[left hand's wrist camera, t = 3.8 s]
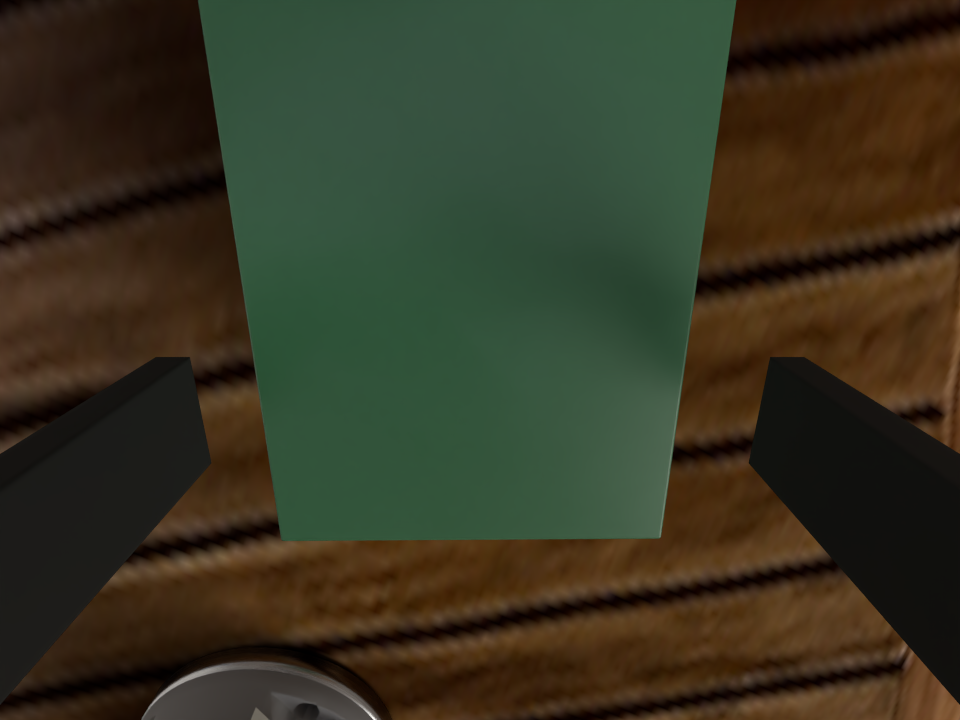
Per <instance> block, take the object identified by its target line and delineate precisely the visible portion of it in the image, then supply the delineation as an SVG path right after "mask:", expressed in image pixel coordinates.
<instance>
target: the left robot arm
mask: <svg viewBox="0 0 960 720" xmlns="http://www.w3.org/2000/svg"><path fill="white" fill-rule="evenodd" d="M210 464H211V459H210V454H209V449H208V444H207V440H206V435H205V430H204V425H203V420H202V415H201V410H200V405H199V400H198V395H197V390H196V386H195V381H194V376H193V371H192V366H191V361H190V357H155V358H154V359H152V360H151V361H149V362H147V363H146V364H144V365H143V366H141V367H139V368H138V369H136V370H134V371H133V372H131V373H130V374H128V375H126V376H125V377H123V378H122V379H120V380H118V381H117V382H115V383H114V384H112V385H110V386H109V387H107V388H106V389H104V390H102V391H101V392H99V393H98V394H96V395H94V396H93V397H91V398H90V399H88V400H86V401H85V402H83V403H82V404H80V405H78V406H77V407H75V408H73V409H72V410H70V411H69V412H67V413H65V414H64V415H62V416H61V417H59V418H57V419H56V420H54V421H53V422H51V423H49V424H48V425H46V426H45V427H43V428H41V429H40V430H38V431H37V432H35V433H33V434H32V435H30V436H29V437H27V438H25V439H24V440H22V441H21V442H19V443H17V444H16V445H14V446H12V447H11V448H9V449H8V450H6V451H4V452H3V453H1V454H0V704H1V703H2V702H3V701H4V700H5V699H6V697H7V696H8V695H9V694H10V693H11V692H12V691H13V689H14V688H15V687H16V686H17V685H18V684H19V683H20V681H21V680H22V679H23V678H24V677H25V676H26V675H27V673H28V672H29V671H30V670H31V669H32V668H33V666H34V665H35V664H36V663H37V662H38V661H39V660H40V658H41V657H42V656H43V655H44V654H45V653H46V652H47V650H48V649H49V648H50V647H51V646H52V645H53V644H54V642H55V641H56V640H57V639H58V638H59V637H60V636H61V634H62V633H63V632H64V631H65V630H66V629H67V628H68V626H69V625H70V624H71V623H72V622H73V621H74V620H75V618H76V617H77V616H78V615H79V614H80V613H81V612H82V610H83V609H84V608H85V607H86V606H87V605H88V604H89V602H90V601H91V600H92V599H93V598H94V597H95V595H96V594H97V593H98V592H99V591H100V590H101V589H102V587H103V586H104V585H105V584H106V583H107V582H108V581H109V579H110V578H111V577H112V576H113V575H114V574H115V573H116V571H117V570H118V569H119V568H120V567H121V566H122V565H123V563H124V562H125V561H126V560H127V559H128V558H129V557H130V555H131V554H132V553H133V552H134V551H135V550H136V549H137V547H138V546H139V545H140V544H141V543H142V542H143V541H144V539H145V538H146V537H147V536H148V535H149V534H150V533H151V531H152V530H153V529H154V528H155V527H156V526H157V525H158V523H159V522H160V521H161V520H162V519H163V518H164V516H165V515H166V514H167V513H168V512H169V511H170V510H171V508H172V507H173V506H174V505H175V504H176V503H177V502H178V500H179V499H180V498H181V497H182V496H183V495H184V494H185V492H186V491H187V490H188V489H189V488H190V487H191V486H192V484H193V483H194V482H195V481H196V480H197V479H198V478H199V476H200V475H201V474H202V473H203V472H204V471H205V470H206V468H207V467H208V466H209V465H210ZM749 464H750V465H751V466H752V467H753V468H754V470H755V471H756V472H757V473H758V474H759V475H760V476H761V478H762V479H763V480H764V481H765V482H766V483H767V484H768V486H769V487H770V488H771V489H772V490H773V491H774V492H775V494H776V495H777V496H778V497H779V498H780V499H781V500H782V502H783V503H784V504H785V505H786V506H787V507H788V508H789V510H790V511H791V512H792V513H793V514H794V515H795V516H796V518H797V519H798V520H799V521H800V522H801V523H802V525H803V526H804V527H805V528H806V529H807V530H808V531H809V533H810V534H811V535H812V536H813V537H814V538H815V539H816V541H817V542H818V543H819V544H820V545H821V546H822V547H823V549H824V550H825V551H826V552H827V553H828V554H829V555H830V557H831V558H832V559H833V560H834V561H835V562H836V563H837V565H838V566H839V567H840V568H841V569H842V570H843V571H844V573H845V574H846V575H847V576H848V577H849V578H850V579H851V581H852V582H853V583H854V584H855V585H856V586H857V587H858V589H859V590H860V591H861V592H862V593H863V594H864V596H865V597H866V598H867V599H868V600H869V601H870V602H871V604H872V605H873V606H874V607H875V608H876V609H877V610H878V612H879V613H880V614H881V615H882V616H883V617H884V618H885V620H886V621H887V622H888V623H889V624H890V625H891V626H892V628H893V629H894V630H895V631H896V632H897V633H898V634H899V636H900V637H901V638H902V639H903V640H904V641H905V642H906V644H907V645H908V646H909V647H910V648H911V649H912V650H913V652H914V653H915V654H916V655H917V656H918V657H919V658H920V660H921V661H922V662H923V663H924V664H925V665H926V666H927V668H928V669H929V670H930V671H931V672H932V673H933V675H934V676H935V677H936V678H937V679H938V680H939V681H940V683H941V684H942V685H943V686H944V687H945V688H946V689H947V691H948V692H949V693H950V694H951V695H952V696H953V697H954V699H955V700H956V701H957V702H958V703H959V704H960V454H959V453H957V452H956V451H954V450H952V449H951V448H949V447H948V446H946V445H944V444H943V443H941V442H939V441H938V440H936V439H935V438H933V437H931V436H930V435H928V434H927V433H925V432H923V431H922V430H920V429H919V428H917V427H915V426H914V425H912V424H911V423H909V422H907V421H906V420H904V419H903V418H901V417H899V416H898V415H896V414H895V413H893V412H891V411H890V410H888V409H887V408H885V407H883V406H882V405H880V404H878V403H877V402H875V401H874V400H872V399H870V398H869V397H867V396H866V395H864V394H862V393H861V392H859V391H858V390H856V389H854V388H853V387H851V386H850V385H848V384H846V383H845V382H843V381H842V380H840V379H838V378H837V377H835V376H834V375H832V374H830V373H829V372H827V371H826V370H824V369H822V368H821V367H819V366H817V365H816V364H814V363H813V362H811V361H809V360H808V359H806V358H805V357H770V361H769V366H768V371H767V376H766V381H765V386H764V390H763V395H762V400H761V405H760V410H759V415H758V420H757V425H756V430H755V435H754V440H753V444H752V449H751V454H750V459H749ZM142 720H392V718H391V716H390V714H389V712H388V710H387V708H386V707H385V705H384V704H383V702H382V701H381V699H380V698H379V697H378V696H377V695H376V694H375V692H374V691H373V690H371V689H370V688H369V687H368V686H367V685H366V684H365V683H364V682H362V681H361V680H360V679H359V678H357V677H356V676H354V675H353V674H351V673H350V672H348V671H346V670H345V669H343V668H341V667H339V666H337V665H335V664H333V663H331V662H329V661H326V660H324V659H321V658H318V657H315V656H312V655H309V654H305V653H302V652H297V651H292V650H286V649H279V648H266V647H249V648H237V649H231V650H225V651H221V652H217V653H213V654H210V655H207V656H204V657H201V658H199V659H197V660H195V661H193V662H191V663H189V664H187V665H185V666H184V667H182V668H181V669H179V670H178V671H176V672H175V673H174V674H173V675H172V676H171V677H169V678H168V679H167V680H166V681H165V683H164V684H163V685H162V686H161V687H160V689H159V691H158V692H157V694H156V695H155V697H154V699H153V700H152V702H151V704H150V706H149V707H148V709H147V711H146V712H145V714H144V716H143V717H142Z"/></svg>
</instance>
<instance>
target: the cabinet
mask: <svg viewBox="0 0 960 720" xmlns="http://www.w3.org/2000/svg"><path fill="white" fill-rule="evenodd" d="M198 3H199V10H200V16H201V23H202V29H203V36H204V42H205V49H206V55H207V62H208V68H209V74H210V81H211V87H212V94H213V100H214V107H215V113H216V120H217V126H218V133H219V139H220V146H221V152H222V159H223V165H224V172H225V178H226V184H227V191H228V197H229V204H230V210H231V217H232V223H233V230H234V236H235V243H236V249H237V256H238V262H239V269H240V275H241V281H242V288H243V294H244V301H245V307H246V314H247V320H248V327H249V333H250V340H251V346H252V353H253V359H254V366H255V372H256V379H257V385H258V391H259V398H260V404H261V411H262V417H263V424H264V430H265V437H266V443H267V450H268V456H269V463H270V469H271V476H272V482H273V489H274V495H275V501H276V508H277V514H278V521H279V527H280V534H281V539H282V540H283V541H330V540H491V539H652V538H660V537H661V532H662V525H663V518H664V511H665V504H666V497H667V489H668V482H669V475H670V468H671V461H672V454H673V447H674V440H675V432H676V425H677V418H678V411H679V404H680V397H681V390H682V383H683V375H684V368H685V361H686V354H687V347H688V340H689V333H690V326H691V318H692V311H693V304H694V297H695V290H696V283H697V276H698V268H699V261H700V254H701V247H702V240H703V233H704V226H705V219H706V211H707V204H708V197H709V190H710V183H711V176H712V169H713V162H714V154H715V147H716V140H717V133H718V126H719V119H720V112H721V105H722V97H723V90H724V83H725V76H726V69H727V62H728V55H729V48H730V40H731V33H732V26H733V19H734V12H735V5H736V0H198Z"/></svg>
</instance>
